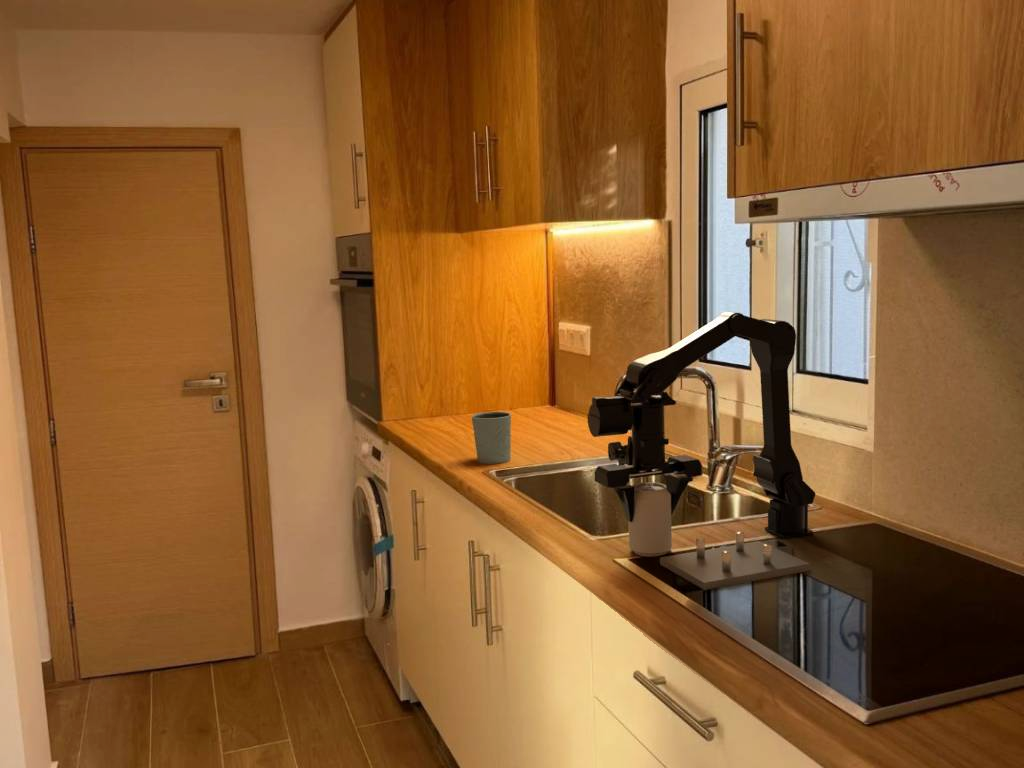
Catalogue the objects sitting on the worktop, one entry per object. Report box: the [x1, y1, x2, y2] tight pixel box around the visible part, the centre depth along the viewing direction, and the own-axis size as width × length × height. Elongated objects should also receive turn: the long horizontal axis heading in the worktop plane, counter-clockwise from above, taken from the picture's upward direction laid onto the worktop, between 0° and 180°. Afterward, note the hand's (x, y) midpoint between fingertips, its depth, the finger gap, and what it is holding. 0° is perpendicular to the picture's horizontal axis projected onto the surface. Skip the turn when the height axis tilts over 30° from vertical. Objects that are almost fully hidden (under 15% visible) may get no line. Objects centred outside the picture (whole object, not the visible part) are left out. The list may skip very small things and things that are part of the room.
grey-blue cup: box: [471, 411, 512, 465], centre depth 252 cm, size 10×10×12 cm
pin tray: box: [659, 531, 811, 591], centre depth 163 cm, size 20×14×4 cm
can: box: [628, 481, 673, 558], centre depth 173 cm, size 8×8×12 cm
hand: (649, 518), depth 173 cm, fingers closed on can, 7 cm apart
